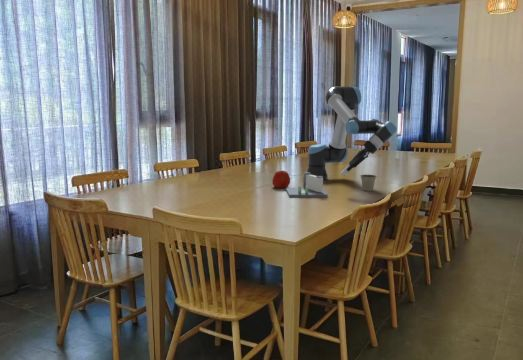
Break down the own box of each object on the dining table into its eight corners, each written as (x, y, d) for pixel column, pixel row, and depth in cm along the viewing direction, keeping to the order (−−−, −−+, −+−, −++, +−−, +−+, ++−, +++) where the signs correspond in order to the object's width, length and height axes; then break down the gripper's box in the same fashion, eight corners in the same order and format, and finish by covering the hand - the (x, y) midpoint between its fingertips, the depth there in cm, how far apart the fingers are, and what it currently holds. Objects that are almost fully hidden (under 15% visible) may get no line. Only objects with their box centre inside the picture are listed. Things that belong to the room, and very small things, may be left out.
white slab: (302, 187, 264) (302, 172, 263) (307, 186, 266) (308, 171, 264) (317, 192, 250) (317, 176, 249) (323, 191, 252) (323, 175, 250)
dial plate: (285, 190, 267) (285, 180, 266) (320, 189, 267) (321, 180, 266) (289, 197, 245) (289, 187, 244) (327, 197, 246) (327, 187, 245)
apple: (288, 189, 269) (289, 171, 267) (270, 188, 271) (271, 171, 269) (291, 186, 279) (291, 169, 277) (273, 185, 281) (274, 168, 279)
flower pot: (364, 191, 262) (365, 177, 261) (356, 189, 271) (357, 174, 270) (378, 191, 265) (379, 176, 263) (370, 188, 274) (371, 174, 272)
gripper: (381, 150, 245) (349, 180, 247) (374, 148, 258) (344, 177, 260) (371, 140, 244) (340, 171, 246) (365, 139, 257) (335, 168, 258)
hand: (342, 174), depth 253 cm, fingers closed
